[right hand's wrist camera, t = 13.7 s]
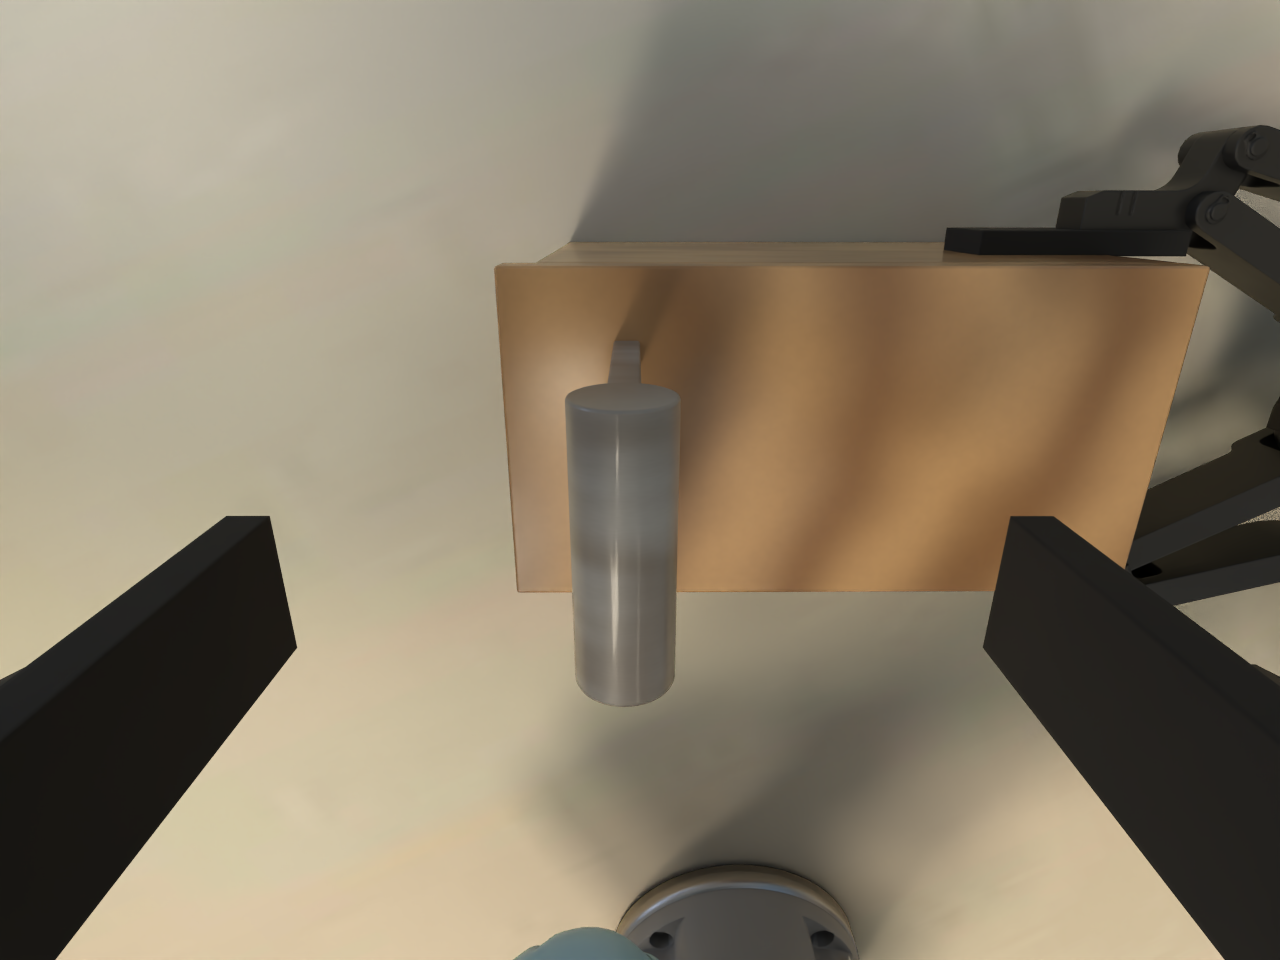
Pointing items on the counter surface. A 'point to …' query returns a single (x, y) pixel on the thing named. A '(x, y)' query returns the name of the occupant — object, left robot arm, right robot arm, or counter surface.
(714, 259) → the chest
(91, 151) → the counter surface
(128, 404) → the counter surface
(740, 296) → the lid
